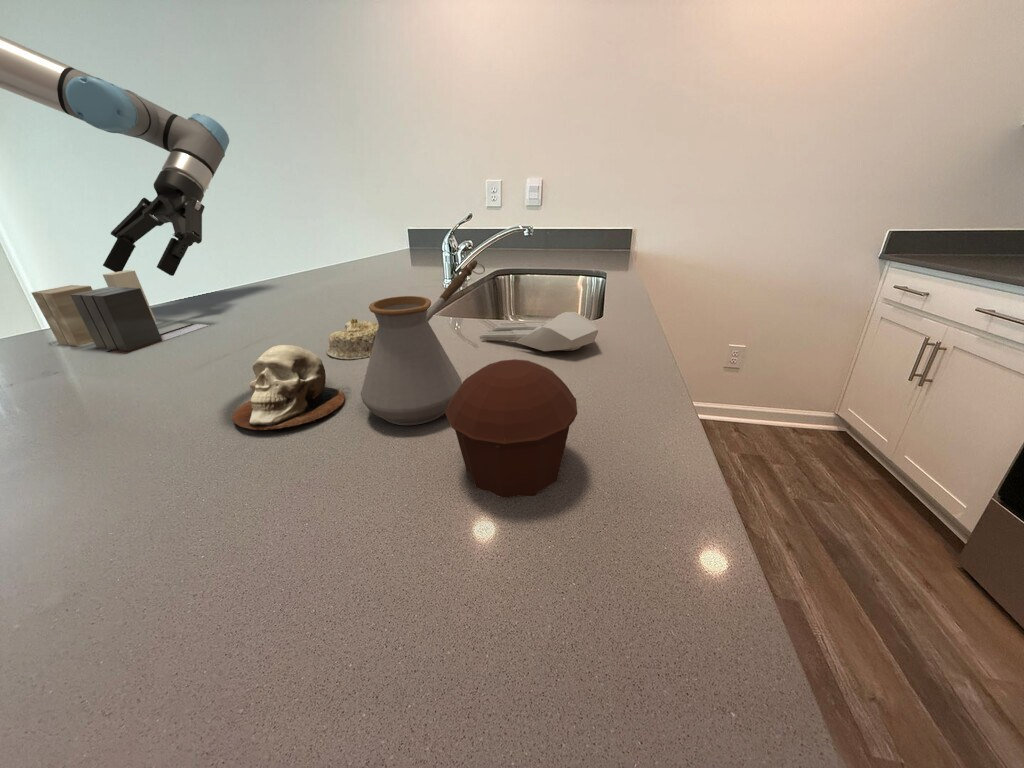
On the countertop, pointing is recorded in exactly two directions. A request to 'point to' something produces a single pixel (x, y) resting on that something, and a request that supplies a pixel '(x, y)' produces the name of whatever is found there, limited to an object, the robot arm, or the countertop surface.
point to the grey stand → (122, 319)
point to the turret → (548, 333)
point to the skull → (287, 390)
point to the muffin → (512, 426)
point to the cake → (353, 340)
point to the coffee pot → (410, 360)
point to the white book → (125, 282)
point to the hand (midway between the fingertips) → (137, 270)
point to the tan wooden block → (64, 314)
